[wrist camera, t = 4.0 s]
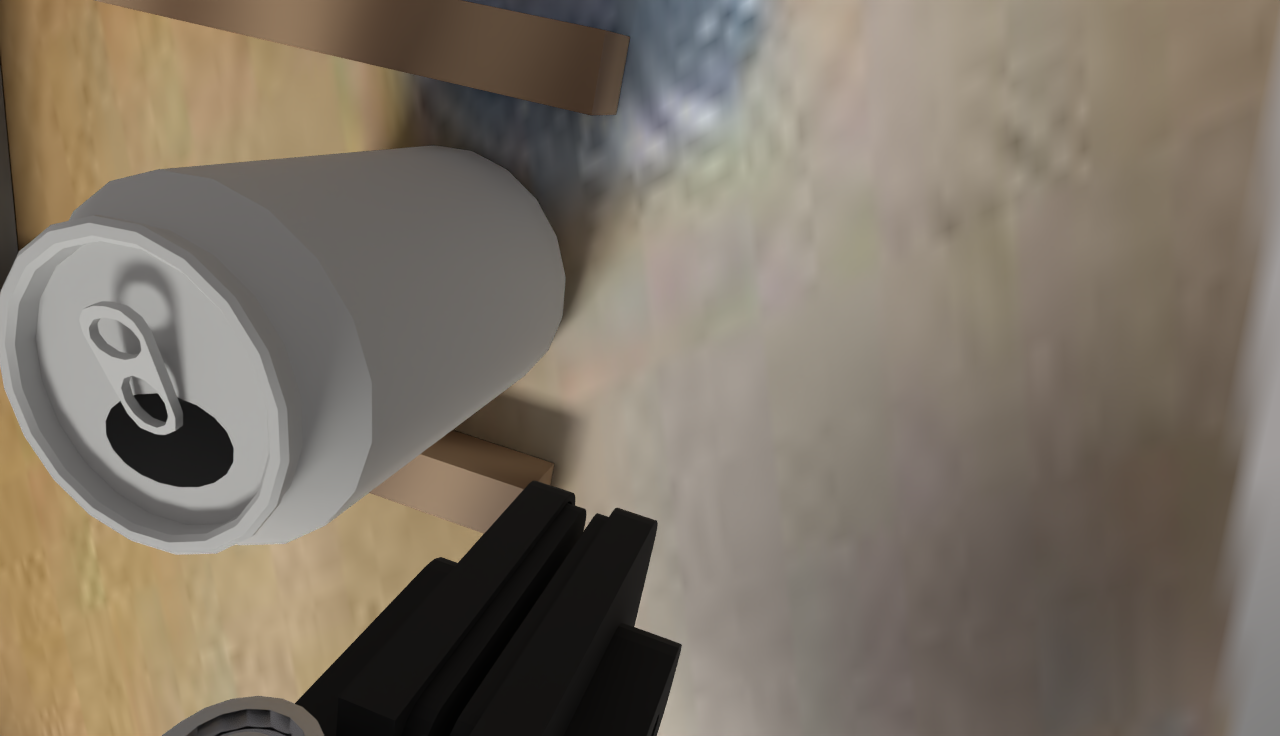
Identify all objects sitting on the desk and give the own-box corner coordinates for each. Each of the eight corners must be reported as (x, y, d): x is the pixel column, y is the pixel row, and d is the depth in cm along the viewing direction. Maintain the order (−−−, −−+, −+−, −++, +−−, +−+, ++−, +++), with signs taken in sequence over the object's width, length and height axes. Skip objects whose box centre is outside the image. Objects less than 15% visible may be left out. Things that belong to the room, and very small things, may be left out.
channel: (630, 37, 21) (575, 22, 17) (544, 515, 26) (490, 581, 23) (-63, -108, 26) (-220, -143, 22) (-14, 323, 31) (-134, 352, 27)
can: (375, 378, 27) (21, 567, 16) (341, 147, 24) (-101, 181, 13) (584, 391, 25) (343, 620, 14) (568, 140, 22) (264, 173, 11)
